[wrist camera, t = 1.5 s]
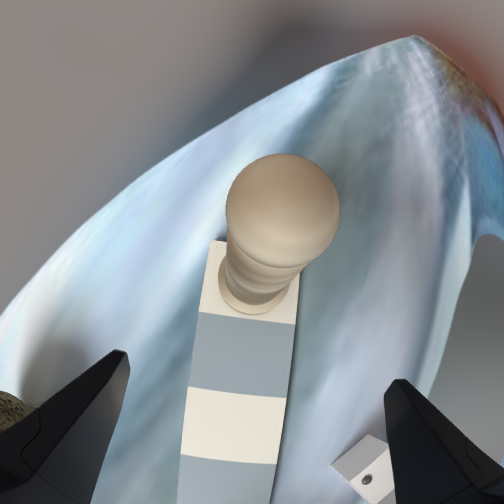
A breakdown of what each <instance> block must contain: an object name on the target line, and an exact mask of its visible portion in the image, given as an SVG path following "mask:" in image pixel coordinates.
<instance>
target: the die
mask: <svg viewBox="0 0 504 504" xmlns="http://www.w3.org/2000/svg"><path fill="white" fill-rule="evenodd" d="M331 466H332V467H333V468H334V469H335V470H336V471H337V472H338V473H339V474H340V475H341V477H342V478H343V479H344V480H345V481H346V482H347V483H348V484H349V485H350V486H351V487H352V488H353V489H354V490H355V491H356V492H357V493H358V494H359V495H361V496H362V497H363V498H364V499H365V500H366V501H367V502H368V503H370V504H377V503H378V502H379V501H380V500H382V498H384V497H385V496H386V495H387V494H388V493H390V492H391V491H392V490H393V489H394V480H393V472H392V465H391V458H390V452H389V446H388V443H386V442H384V441H381V440H379V439H377V438H375V437H373V436H371V435H369V434H367V435H366V436H365V437H364V438H362V439H361V440H360V441H359V442H358V443H357V444H355V445H354V446H353V447H352V448H351V449H350V450H348V451H347V452H346V453H345V454H343V455H342V456H341V457H340V458H339V459H337V460H336V461H335V462H333V463H332V464H331Z"/></svg>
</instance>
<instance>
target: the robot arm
mask: <svg viewBox="0 0 504 504" xmlns="http://www.w3.org/2000/svg"><path fill="white" fill-rule="evenodd" d="M129 375H130V365H129V360H128V355H127V353H126V352H125V351H121V350H117V349H115V350H113V351H111V352H110V353H109V354H107V355H106V356H105V357H103V358H102V359H101V360H99V361H98V362H97V363H95V364H94V365H93V366H91V367H90V368H89V369H87V370H86V371H85V372H84V373H82V374H81V375H80V376H78V377H77V378H76V379H74V380H73V381H72V382H70V383H69V384H68V385H66V386H65V387H64V388H62V389H61V390H60V391H59V392H57V393H56V394H55V395H53V396H52V397H51V398H49V399H48V400H47V401H45V402H44V403H43V404H42V405H40V408H39V407H37V408H36V409H35V410H34V411H32V412H31V413H30V414H28V415H27V416H25V417H24V418H23V419H21V420H20V421H18V422H17V423H15V424H13V425H12V426H10V427H9V428H7V429H5V430H3V431H2V432H0V504H90V502H91V499H92V496H93V492H94V489H95V486H96V482H97V479H98V476H99V473H100V470H101V467H102V464H103V461H104V458H105V455H106V452H107V449H108V446H109V443H110V440H111V437H112V435H113V432H114V429H115V426H116V423H117V421H118V418H119V415H120V411H121V408H122V403H123V399H124V395H125V391H126V387H127V383H128V379H129ZM384 408H385V421H386V433H387V440H388V446H389V452H390V458H391V465H392V472H393V480H394V488H395V496H396V504H504V468H503V467H502V466H500V465H499V464H497V463H496V462H495V461H494V460H493V459H491V458H490V457H489V456H487V455H486V454H485V453H484V452H483V451H481V450H480V449H479V448H478V447H477V446H476V445H475V444H473V442H471V441H470V440H469V439H468V438H467V437H465V435H464V434H463V433H462V432H461V431H460V430H459V429H458V428H457V427H456V426H455V425H454V424H453V423H452V422H450V421H449V420H448V419H447V418H446V417H445V416H444V415H443V414H442V413H441V412H440V411H439V410H438V409H437V408H436V407H435V406H434V405H433V404H432V403H430V402H429V401H428V400H427V399H426V398H425V397H424V396H423V395H422V394H421V393H420V392H419V391H418V390H417V389H416V388H415V387H414V386H413V385H411V384H410V383H409V382H408V381H407V380H406V379H395V380H394V381H393V382H392V384H391V385H390V386H389V388H388V389H387V391H386V392H385V394H384Z"/></svg>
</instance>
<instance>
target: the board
mask: <svg viewBox="0 0 504 504" xmlns="http://www.w3.org/2000/svg"><path fill="white" fill-rule="evenodd" d="M226 246H227V242H223V241H216V240H211V243H210V248H209V254H208V259H207V265H206V271H205V277H204V283H203V288H202V295H201V301H200V307H199V313H198V320H197V326H196V333H195V340H194V347H193V354H192V361H191V368H190V376H189V384H188V392H187V400H186V408H185V417H184V426H183V435H182V445H181V456H180V467H179V479H178V492H177V504H269V502H270V496H271V491H272V486H273V481H274V475H275V469H276V464H277V458H278V452H279V446H280V439H281V433H282V426H283V420H284V413H285V406H286V398H287V391H288V383H289V375H290V367H291V359H292V350H293V341H294V332H295V322H296V311H297V301H298V289H299V277H300V273H299V274H298V275H297V276H296V277H295V278H294V279H293V280H292V281H291V282H290V286H289V289H288V292H287V294H286V296H285V297H284V299H283V300H282V301H281V302H280V303H279V304H278V305H277V306H276V307H274V308H273V309H272V310H270V311H268V312H266V313H263V314H260V315H246V314H242V313H239V312H237V311H235V310H234V309H232V308H231V307H230V306H229V305H228V304H227V303H226V302H225V301H224V299H223V298H222V296H221V293H220V290H219V285H218V270H219V266H220V264H221V261H222V259H223V258H224V256H225V255H226Z"/></svg>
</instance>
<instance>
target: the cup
mask: <svg viewBox="0 0 504 504" xmlns="http://www.w3.org/2000/svg"><path fill="white" fill-rule="evenodd" d="M32 411H34V409H33V408H31V407H30V406H28V405H25V404H24V403H23V402H22V401H21V400H19V399H18V398H17V397H15V396H13V395H11V394H9V393H7V392H4V391H0V432H2V431H3V430H5V429H7V428H9V427H10V426H12V425H13V424H15V423H17V422H18V421H20V420H21V419H23V418H24V417H25V416H27V415H28V414H30V413H31V412H32Z"/></svg>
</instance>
